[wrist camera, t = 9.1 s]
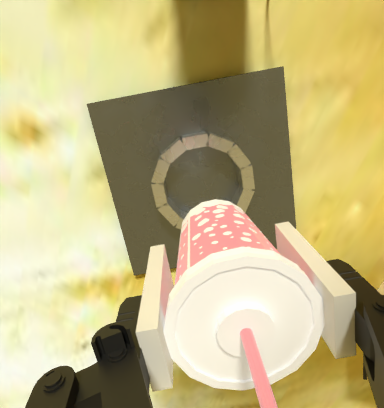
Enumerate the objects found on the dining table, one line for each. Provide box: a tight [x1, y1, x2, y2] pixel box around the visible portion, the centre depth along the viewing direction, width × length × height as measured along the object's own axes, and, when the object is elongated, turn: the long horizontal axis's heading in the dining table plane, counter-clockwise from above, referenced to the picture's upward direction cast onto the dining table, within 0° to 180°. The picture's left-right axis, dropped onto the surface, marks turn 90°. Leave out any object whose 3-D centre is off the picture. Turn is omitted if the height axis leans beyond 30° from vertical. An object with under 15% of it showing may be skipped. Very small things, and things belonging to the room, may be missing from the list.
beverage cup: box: [164, 199, 325, 408], centre depth 13 cm, size 6×6×14 cm
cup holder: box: [87, 67, 296, 275], centre depth 33 cm, size 20×20×4 cm
